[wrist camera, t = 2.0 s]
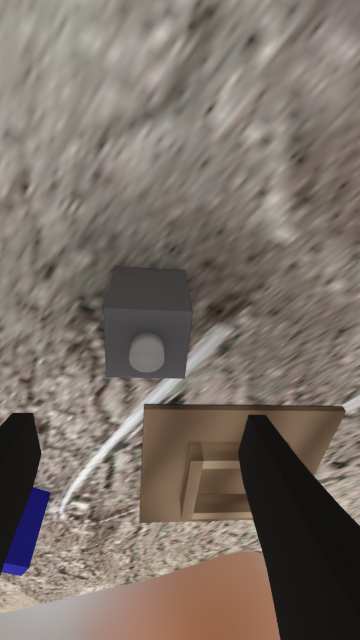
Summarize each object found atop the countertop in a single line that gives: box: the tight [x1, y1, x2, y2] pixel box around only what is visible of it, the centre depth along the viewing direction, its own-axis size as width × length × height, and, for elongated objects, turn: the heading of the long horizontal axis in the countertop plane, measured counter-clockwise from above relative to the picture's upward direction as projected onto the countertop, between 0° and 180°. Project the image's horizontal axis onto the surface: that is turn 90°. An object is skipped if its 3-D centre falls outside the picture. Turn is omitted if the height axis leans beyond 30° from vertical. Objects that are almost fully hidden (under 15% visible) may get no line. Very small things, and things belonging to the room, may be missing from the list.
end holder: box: [140, 404, 346, 523], centre depth 28 cm, size 16×16×2 cm
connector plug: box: [103, 266, 193, 379], centre depth 17 cm, size 4×4×6 cm
